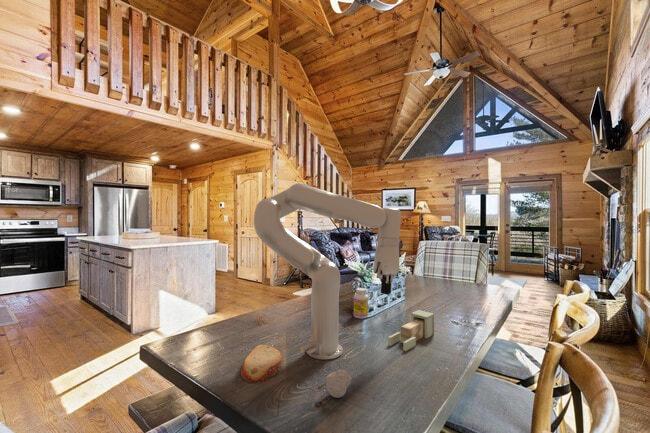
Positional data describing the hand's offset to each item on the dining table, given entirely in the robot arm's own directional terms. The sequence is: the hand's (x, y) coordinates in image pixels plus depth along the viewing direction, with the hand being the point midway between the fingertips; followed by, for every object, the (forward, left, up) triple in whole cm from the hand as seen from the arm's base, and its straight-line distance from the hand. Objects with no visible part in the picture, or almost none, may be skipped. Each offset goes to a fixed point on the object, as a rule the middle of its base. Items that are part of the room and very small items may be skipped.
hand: (385, 293), depth 111 cm
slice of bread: (-39, +20, -20) cm, 48 cm away
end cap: (+21, -3, -19) cm, 29 cm away
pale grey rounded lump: (-34, -8, -20) cm, 40 cm away
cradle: (+6, -3, -19) cm, 20 cm away
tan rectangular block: (+15, -3, -20) cm, 25 cm away
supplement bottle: (+20, +27, -20) cm, 39 cm away
